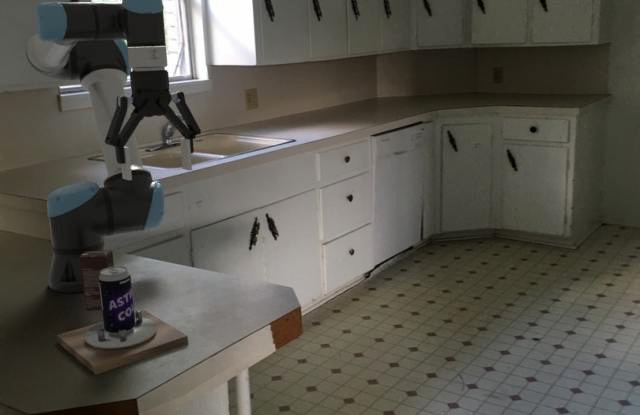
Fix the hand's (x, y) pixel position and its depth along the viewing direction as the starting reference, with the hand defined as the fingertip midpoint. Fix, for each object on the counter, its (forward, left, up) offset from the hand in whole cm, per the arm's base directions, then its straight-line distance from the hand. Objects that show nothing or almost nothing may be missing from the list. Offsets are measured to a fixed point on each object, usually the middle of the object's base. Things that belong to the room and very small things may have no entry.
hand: (158, 174), depth 140 cm
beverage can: (+11, -16, -26) cm, 33 cm away
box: (-10, -11, -29) cm, 32 cm away
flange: (+11, -16, -27) cm, 33 cm away
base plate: (+11, -16, -29) cm, 35 cm away
